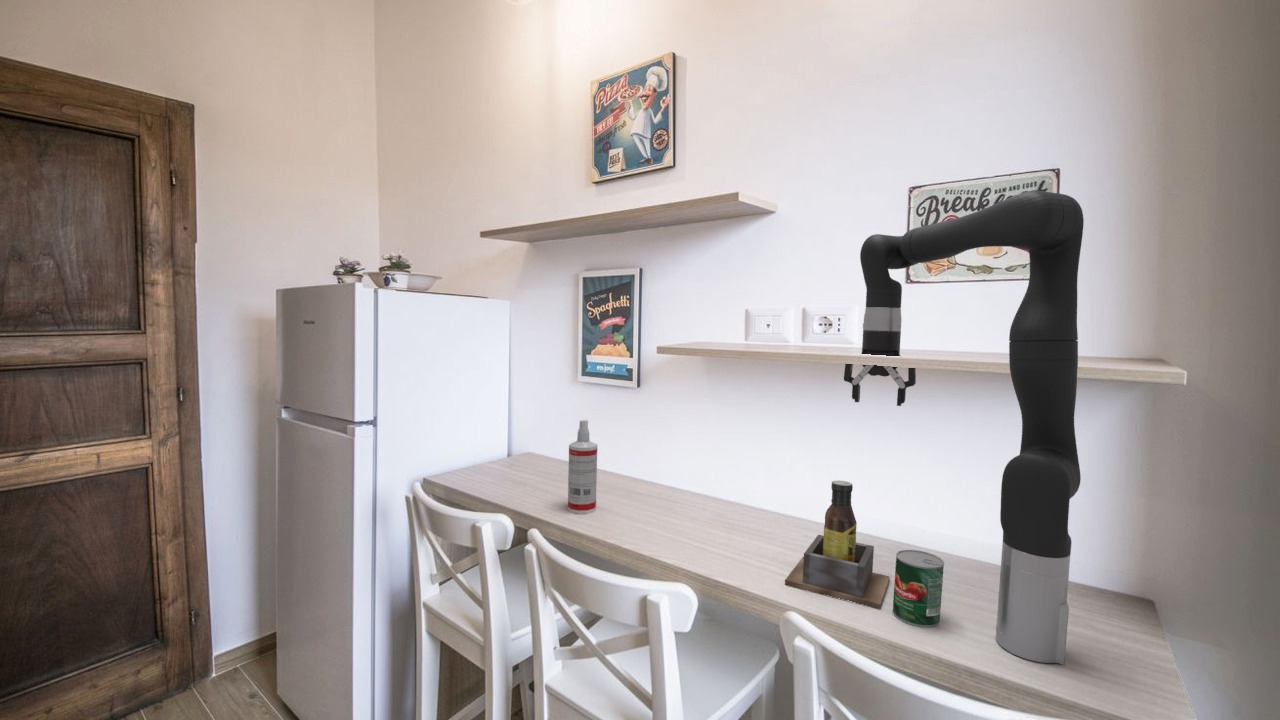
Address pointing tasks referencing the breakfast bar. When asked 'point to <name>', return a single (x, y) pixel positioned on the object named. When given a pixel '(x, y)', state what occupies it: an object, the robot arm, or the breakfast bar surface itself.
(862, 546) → the bottle holder
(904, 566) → the canned tomato
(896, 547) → the breakfast bar surface
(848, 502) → the sauce bottle
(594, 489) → the spray bottle
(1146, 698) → the breakfast bar surface
